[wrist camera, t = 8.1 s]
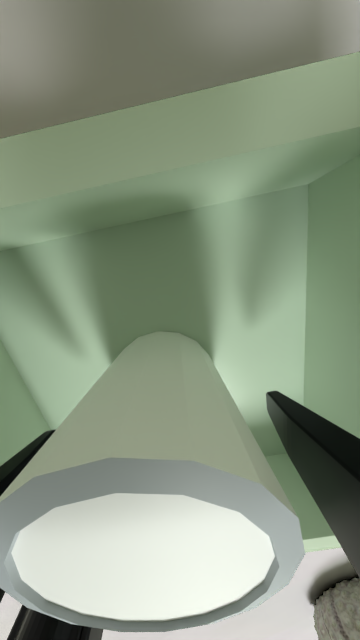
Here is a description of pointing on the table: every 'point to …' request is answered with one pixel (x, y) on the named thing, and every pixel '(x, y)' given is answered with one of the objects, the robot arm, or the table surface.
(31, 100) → the table surface
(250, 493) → the shot glass
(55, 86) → the table surface
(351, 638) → the sea urchin shell
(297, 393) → the bin
